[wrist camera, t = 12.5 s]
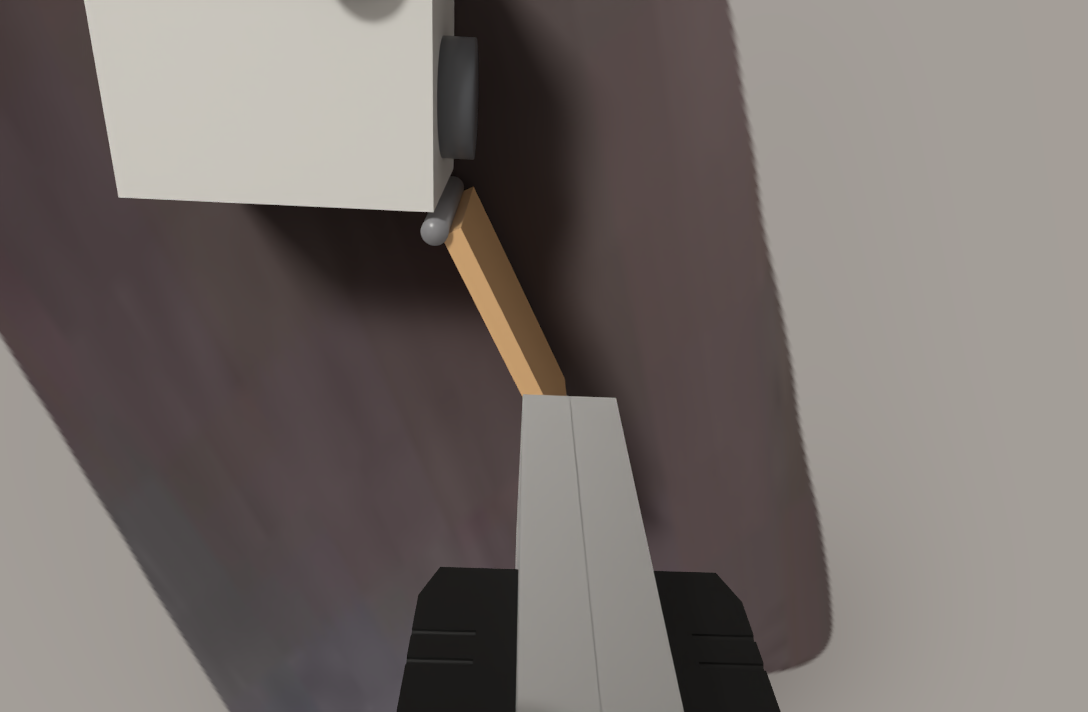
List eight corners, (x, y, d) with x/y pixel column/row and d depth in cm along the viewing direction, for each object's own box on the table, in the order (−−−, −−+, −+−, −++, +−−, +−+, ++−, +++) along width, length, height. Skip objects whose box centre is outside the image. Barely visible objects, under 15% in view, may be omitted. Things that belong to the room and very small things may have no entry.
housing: (172, -104, 30) (44, -142, 22) (485, -85, 31) (469, -115, 23) (205, 159, 35) (107, 206, 27) (480, 172, 35) (465, 223, 27)
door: (578, 466, 41) (588, 558, 34) (438, 181, 35) (415, 225, 28) (602, 457, 41) (617, 547, 34) (466, 168, 35) (450, 209, 28)
